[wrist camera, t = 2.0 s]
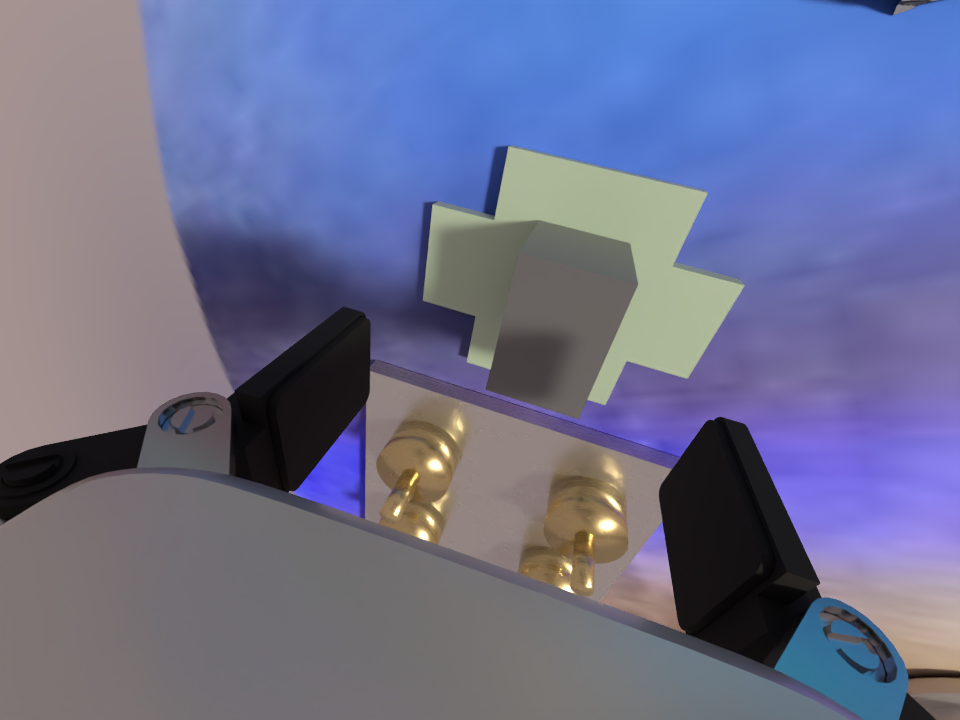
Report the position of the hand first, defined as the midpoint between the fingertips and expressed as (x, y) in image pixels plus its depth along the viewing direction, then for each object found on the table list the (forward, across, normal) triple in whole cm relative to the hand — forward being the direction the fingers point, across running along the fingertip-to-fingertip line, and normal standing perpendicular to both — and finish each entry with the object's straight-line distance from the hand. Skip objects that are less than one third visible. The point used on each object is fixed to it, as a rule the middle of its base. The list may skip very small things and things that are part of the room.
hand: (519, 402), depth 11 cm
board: (+10, -1, 0) cm, 10 cm away
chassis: (+10, -1, +18) cm, 20 cm away
